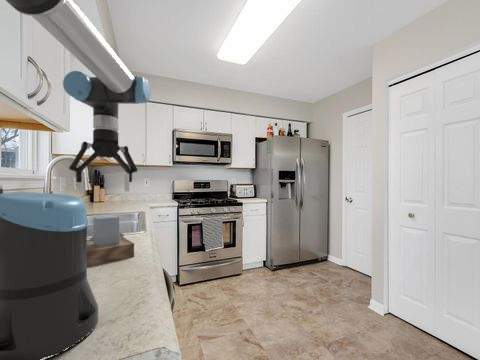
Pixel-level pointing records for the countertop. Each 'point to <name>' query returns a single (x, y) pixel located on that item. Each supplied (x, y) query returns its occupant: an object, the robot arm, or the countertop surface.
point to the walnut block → (109, 252)
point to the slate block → (105, 230)
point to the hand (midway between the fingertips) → (105, 192)
